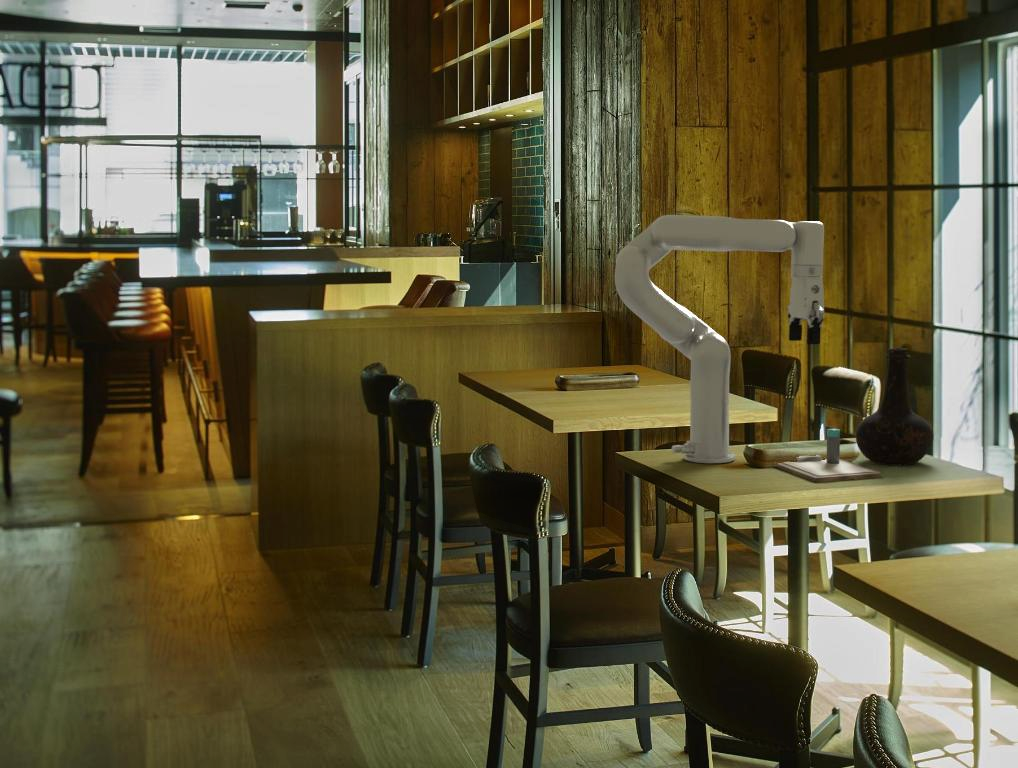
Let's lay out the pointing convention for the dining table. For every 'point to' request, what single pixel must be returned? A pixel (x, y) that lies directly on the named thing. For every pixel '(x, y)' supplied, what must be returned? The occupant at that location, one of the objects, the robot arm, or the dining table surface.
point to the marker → (833, 446)
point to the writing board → (826, 469)
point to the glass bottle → (895, 421)
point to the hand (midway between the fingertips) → (804, 342)
